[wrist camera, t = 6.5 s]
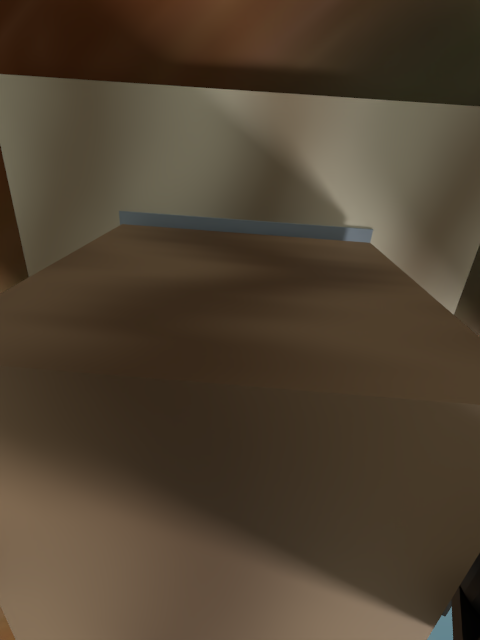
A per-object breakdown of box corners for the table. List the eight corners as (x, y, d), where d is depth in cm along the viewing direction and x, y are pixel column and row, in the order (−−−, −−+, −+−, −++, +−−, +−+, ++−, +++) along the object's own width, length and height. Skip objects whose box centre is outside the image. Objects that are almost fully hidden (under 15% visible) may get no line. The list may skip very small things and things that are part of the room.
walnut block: (370, 242, 11) (566, 412, 4) (327, 431, 15) (390, 698, 8) (121, 223, 11) (-111, 357, 4) (138, 415, 15) (26, 664, 8)
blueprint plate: (503, 113, 11) (531, 109, 10) (382, 467, 18) (391, 488, 17) (10, 79, 12) (-18, 72, 10) (79, 442, 19) (67, 462, 17)
